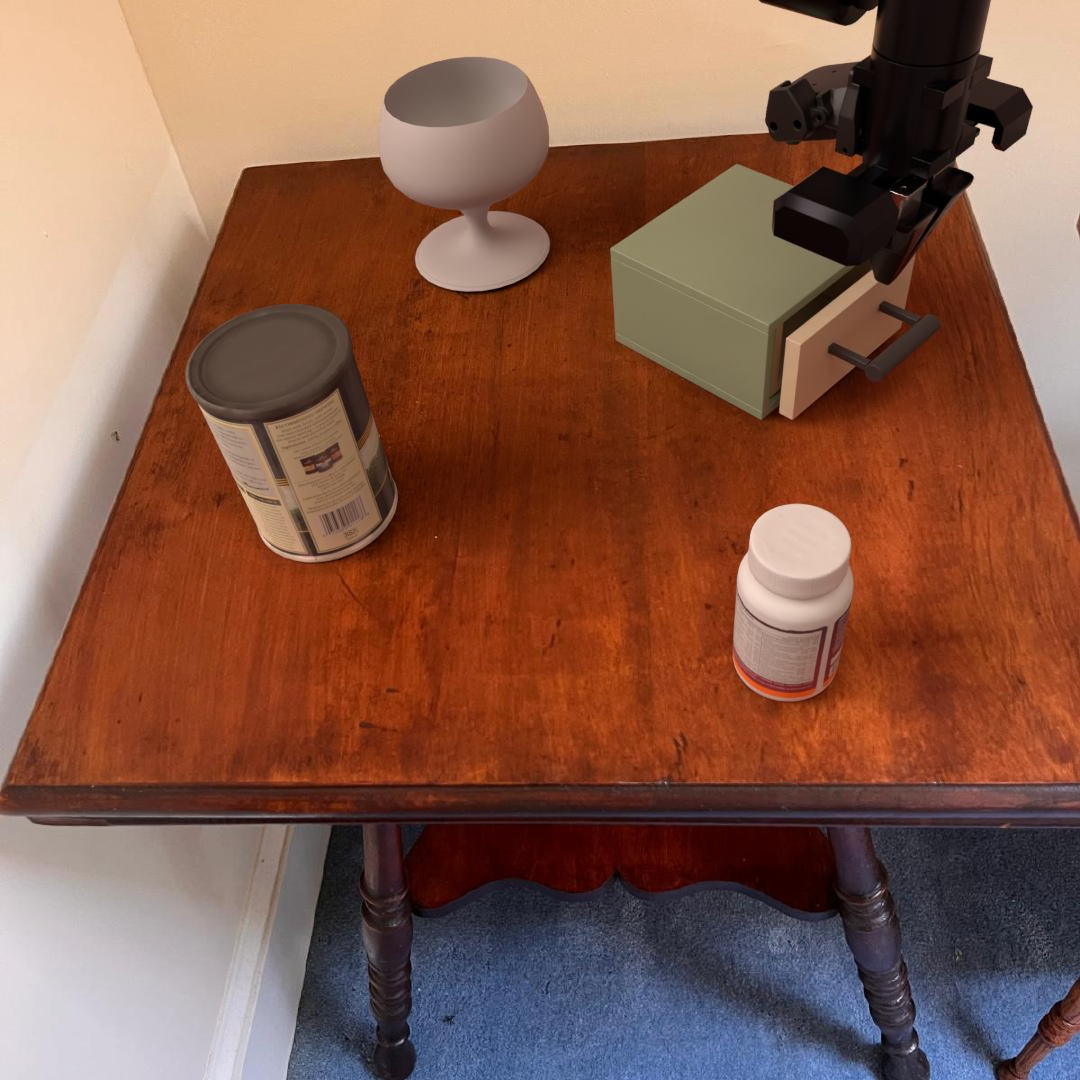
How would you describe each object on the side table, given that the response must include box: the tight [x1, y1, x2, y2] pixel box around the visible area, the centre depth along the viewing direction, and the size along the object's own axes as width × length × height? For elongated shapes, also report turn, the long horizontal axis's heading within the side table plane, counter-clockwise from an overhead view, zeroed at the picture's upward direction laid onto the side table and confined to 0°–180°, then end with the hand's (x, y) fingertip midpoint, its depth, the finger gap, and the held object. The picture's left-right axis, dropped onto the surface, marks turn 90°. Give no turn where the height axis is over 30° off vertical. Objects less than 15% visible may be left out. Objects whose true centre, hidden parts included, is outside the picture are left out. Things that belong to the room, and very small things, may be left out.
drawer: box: [770, 252, 942, 421], centre depth 76 cm, size 18×13×7 cm
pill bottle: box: [732, 503, 855, 702], centre depth 57 cm, size 6×6×11 cm
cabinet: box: [609, 163, 855, 421], centre depth 79 cm, size 15×15×9 cm
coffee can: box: [184, 303, 399, 563], centre depth 69 cm, size 10×10×14 cm
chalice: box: [377, 56, 551, 292], centre depth 87 cm, size 14×14×15 cm
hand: (884, 280), depth 69 cm, fingers closed
